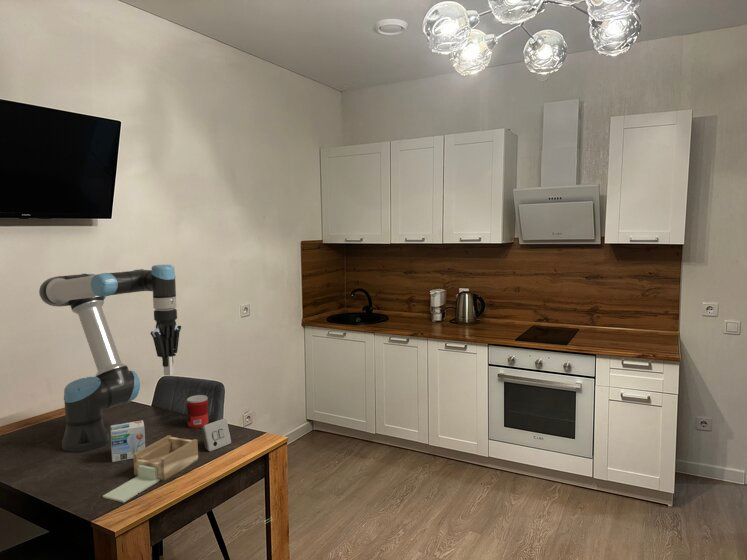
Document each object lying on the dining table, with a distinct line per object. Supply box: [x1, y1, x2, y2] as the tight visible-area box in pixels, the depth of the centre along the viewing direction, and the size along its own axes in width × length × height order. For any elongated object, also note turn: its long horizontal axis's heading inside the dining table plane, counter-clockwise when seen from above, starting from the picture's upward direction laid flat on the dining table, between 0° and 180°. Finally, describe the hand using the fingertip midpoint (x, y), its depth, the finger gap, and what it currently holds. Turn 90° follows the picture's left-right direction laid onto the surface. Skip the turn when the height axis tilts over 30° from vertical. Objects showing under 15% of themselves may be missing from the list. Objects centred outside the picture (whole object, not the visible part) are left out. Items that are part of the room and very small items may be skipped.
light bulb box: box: [110, 420, 146, 463], centre depth 181 cm, size 11×7×11 cm, turn 118°
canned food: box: [186, 394, 210, 429], centre depth 209 cm, size 8×8×11 cm
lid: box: [102, 465, 161, 503], centre depth 158 cm, size 8×14×4 cm, turn 159°
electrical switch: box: [200, 418, 232, 452], centre depth 189 cm, size 9×5×9 cm, turn 141°
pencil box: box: [132, 434, 199, 482], centre depth 172 cm, size 12×16×7 cm
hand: (168, 374), depth 186 cm, fingers closed
